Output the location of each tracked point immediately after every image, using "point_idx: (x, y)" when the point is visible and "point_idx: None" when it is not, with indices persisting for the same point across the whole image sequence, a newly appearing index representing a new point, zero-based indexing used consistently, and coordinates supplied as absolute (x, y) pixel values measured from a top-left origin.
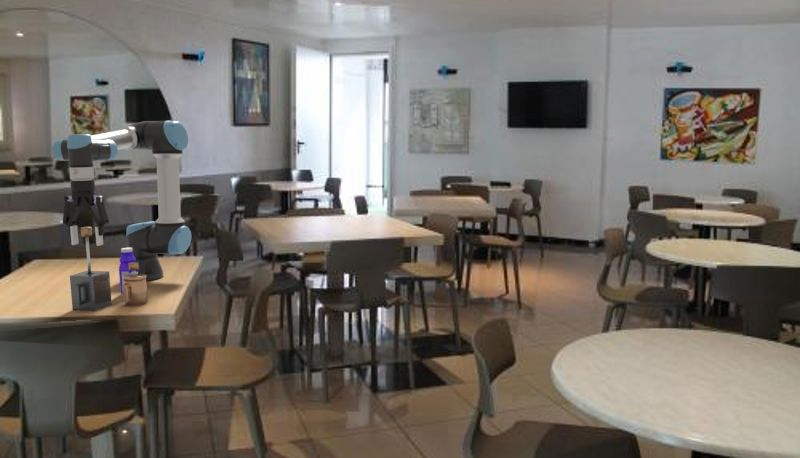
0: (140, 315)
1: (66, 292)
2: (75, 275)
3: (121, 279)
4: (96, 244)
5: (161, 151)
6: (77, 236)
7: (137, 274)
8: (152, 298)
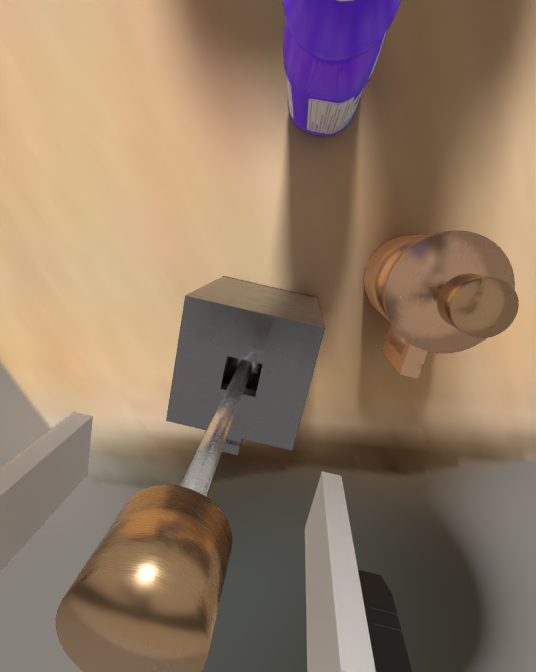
0: (468, 446)
1: (23, 60)
2: (189, 414)
3: (305, 113)
4: (306, 537)
5: None
6: (44, 463)
7: (455, 249)
8: (454, 199)
